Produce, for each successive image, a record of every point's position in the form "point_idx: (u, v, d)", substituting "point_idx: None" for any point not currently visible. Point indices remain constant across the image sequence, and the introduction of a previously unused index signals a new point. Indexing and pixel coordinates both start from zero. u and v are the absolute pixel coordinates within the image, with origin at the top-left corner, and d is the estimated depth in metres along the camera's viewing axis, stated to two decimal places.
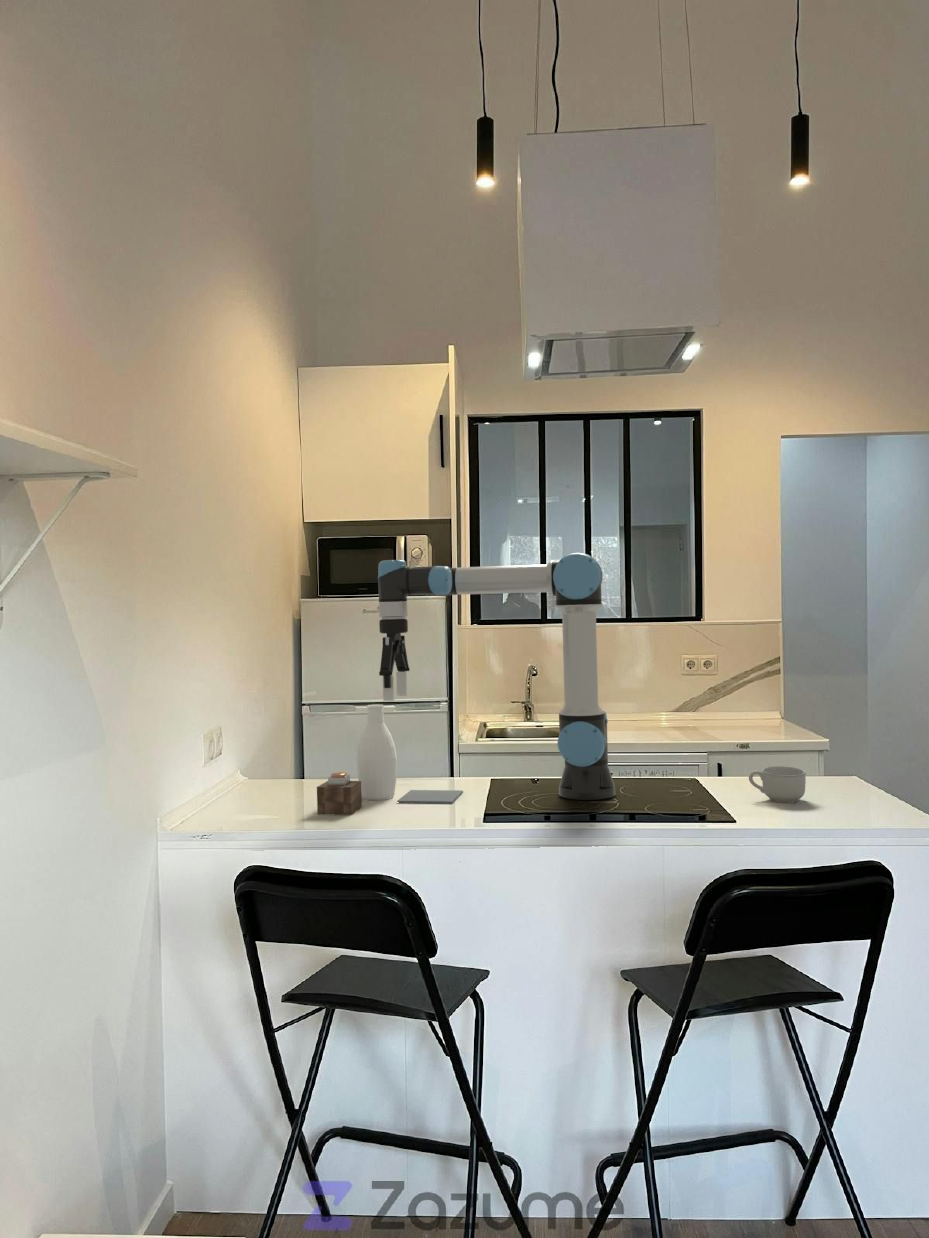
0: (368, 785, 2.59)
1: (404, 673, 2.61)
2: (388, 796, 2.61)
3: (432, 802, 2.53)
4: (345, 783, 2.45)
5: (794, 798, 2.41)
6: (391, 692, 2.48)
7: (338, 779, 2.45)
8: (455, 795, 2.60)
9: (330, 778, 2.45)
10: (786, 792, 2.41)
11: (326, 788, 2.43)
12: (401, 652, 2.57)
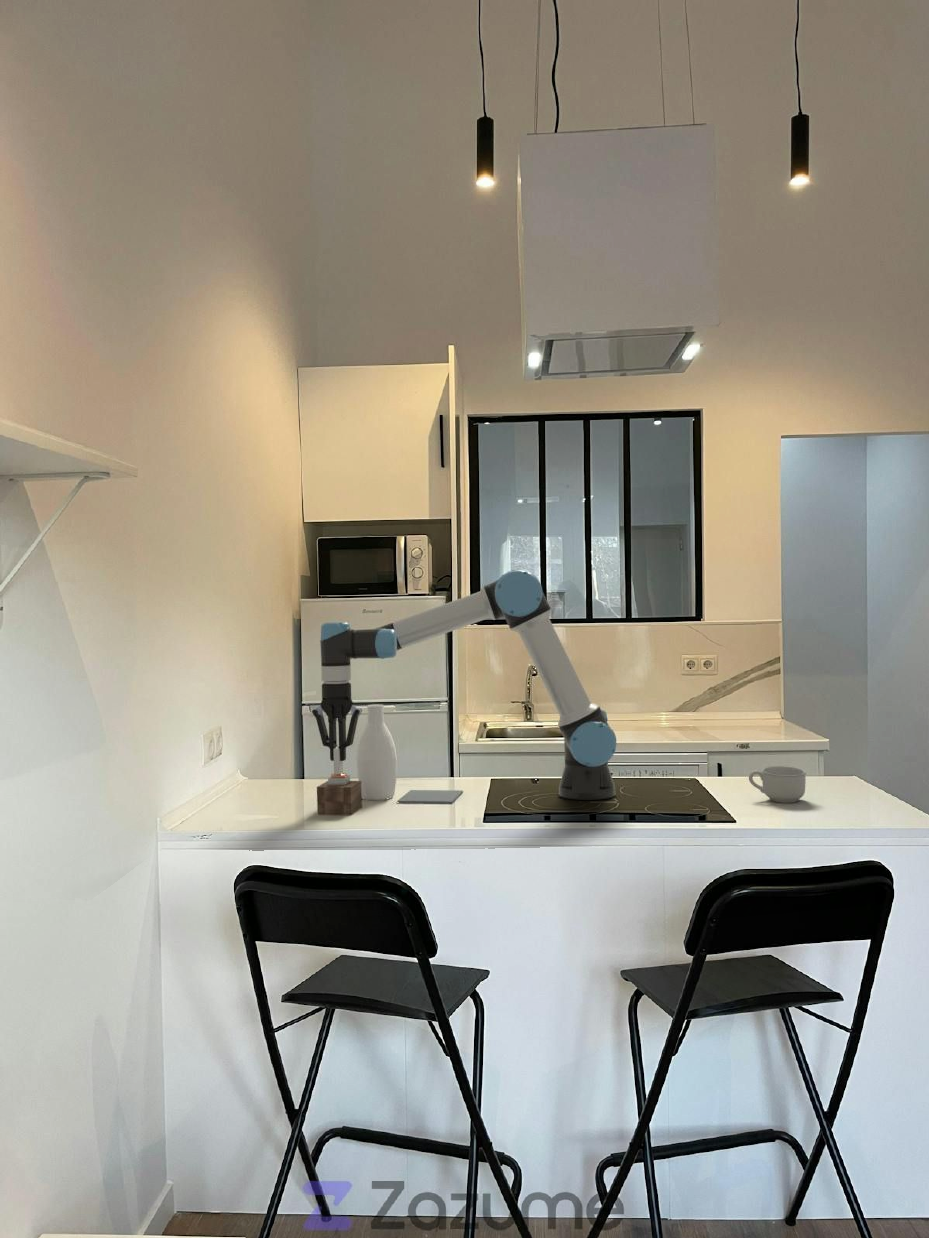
0: (368, 785, 2.59)
1: None
2: (388, 796, 2.61)
3: (432, 802, 2.53)
4: (345, 783, 2.45)
5: (794, 798, 2.41)
6: None
7: (338, 779, 2.45)
8: (455, 795, 2.60)
9: (330, 778, 2.45)
10: (786, 792, 2.41)
11: (326, 788, 2.43)
12: None
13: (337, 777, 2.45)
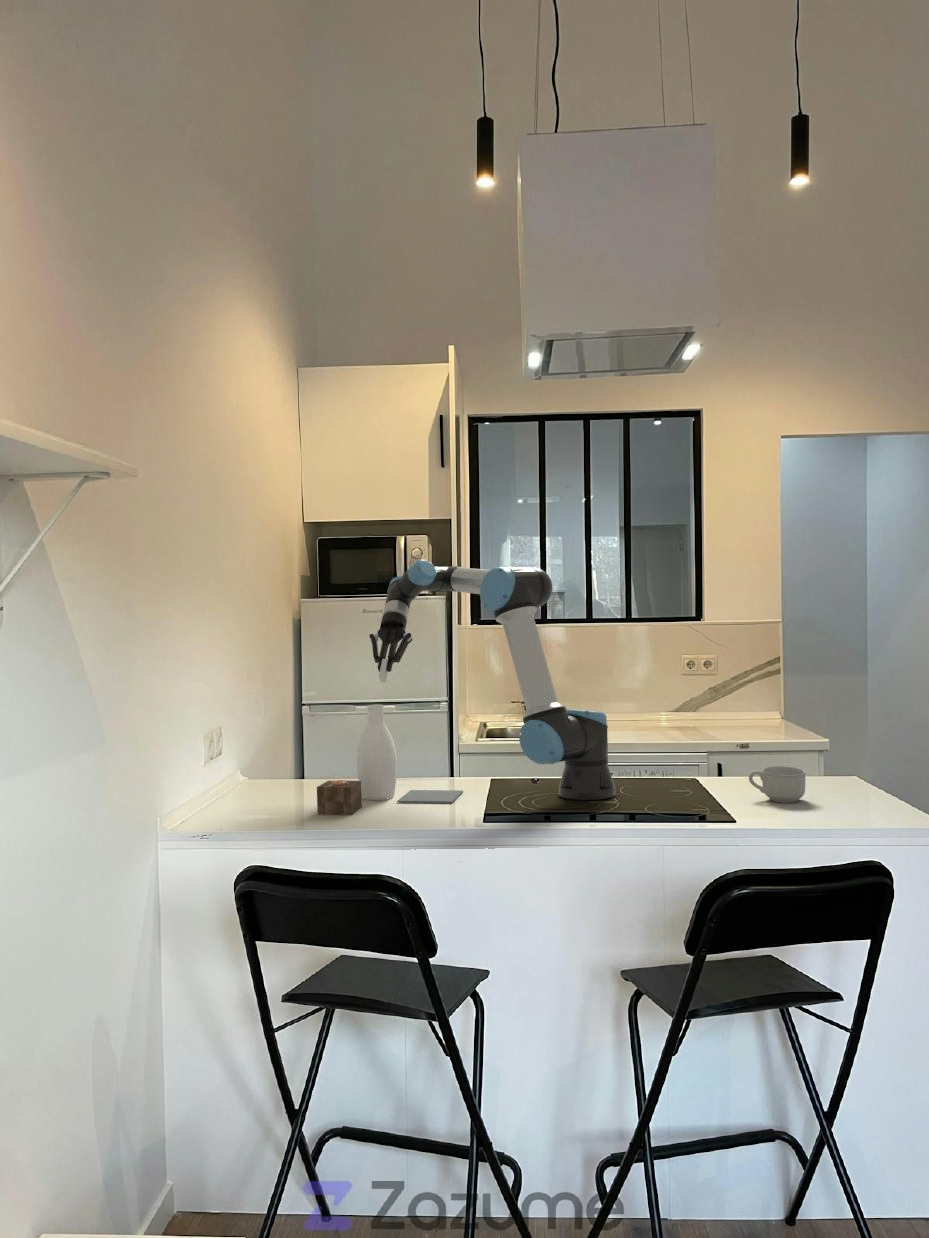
0: (368, 785, 2.59)
1: None
2: (388, 796, 2.61)
3: (432, 802, 2.53)
4: None
5: (794, 798, 2.41)
6: None
7: None
8: (455, 795, 2.60)
9: None
10: (786, 792, 2.41)
11: (326, 788, 2.43)
12: None
13: (337, 784, 2.45)
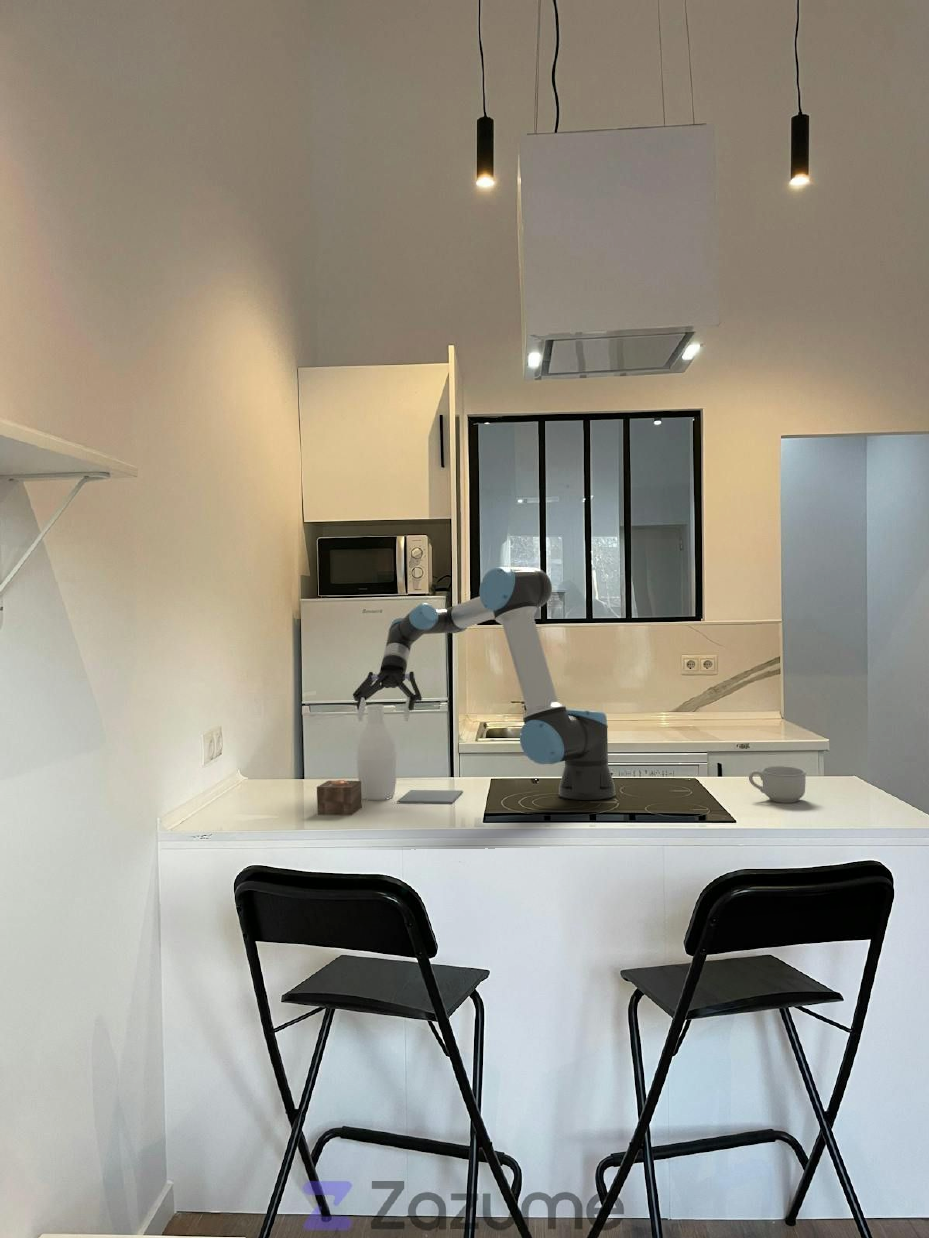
0: (368, 785, 2.59)
1: None
2: (388, 796, 2.61)
3: (432, 802, 2.53)
4: None
5: (794, 798, 2.41)
6: (359, 710, 2.75)
7: None
8: (455, 795, 2.60)
9: None
10: (786, 792, 2.41)
11: (326, 788, 2.43)
12: (398, 683, 2.79)
13: (337, 784, 2.45)
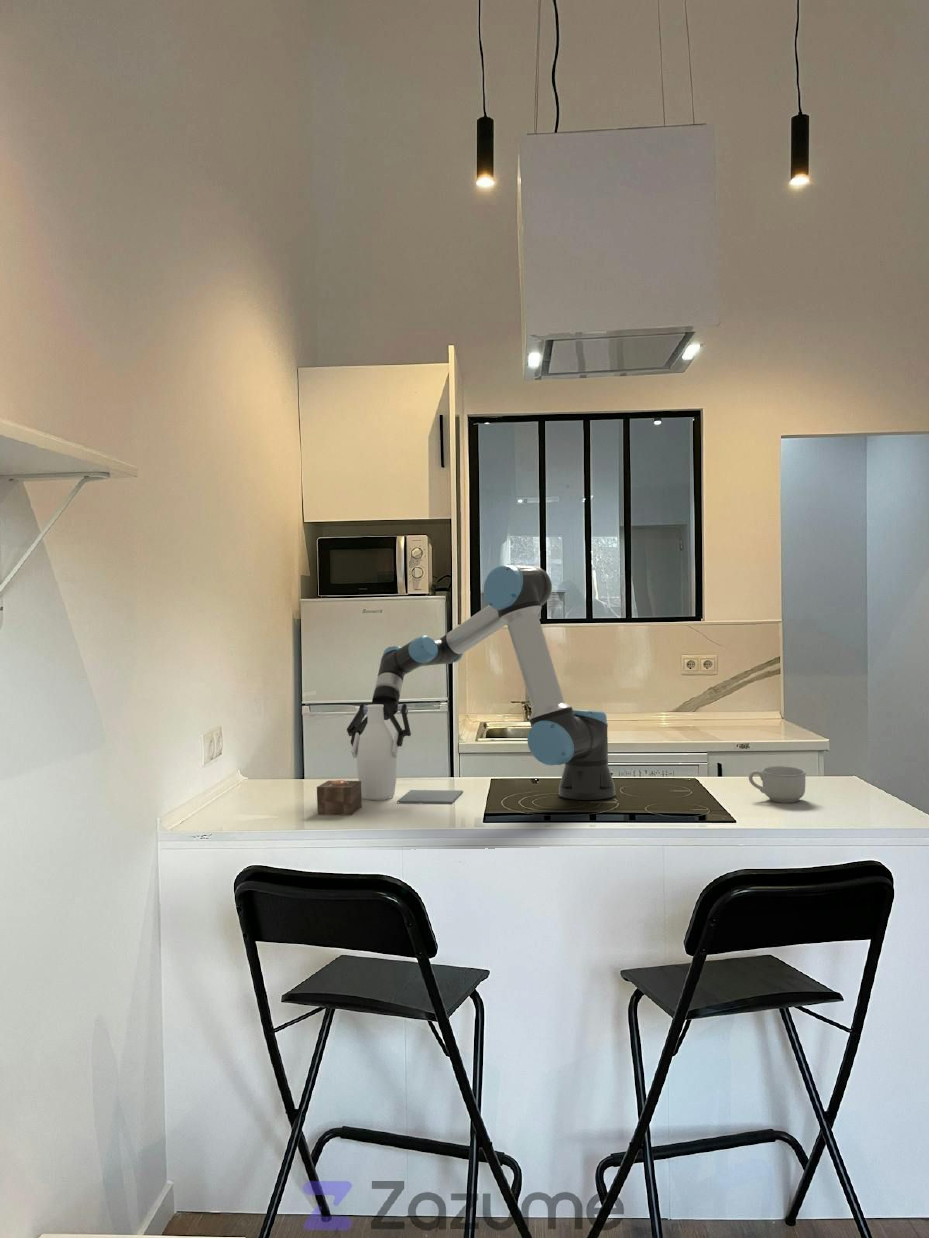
0: (368, 785, 2.59)
1: None
2: (388, 796, 2.61)
3: (432, 802, 2.53)
4: None
5: (794, 798, 2.41)
6: (353, 746, 2.63)
7: None
8: (455, 795, 2.60)
9: None
10: (786, 792, 2.41)
11: (326, 788, 2.43)
12: (389, 715, 2.68)
13: (337, 784, 2.45)
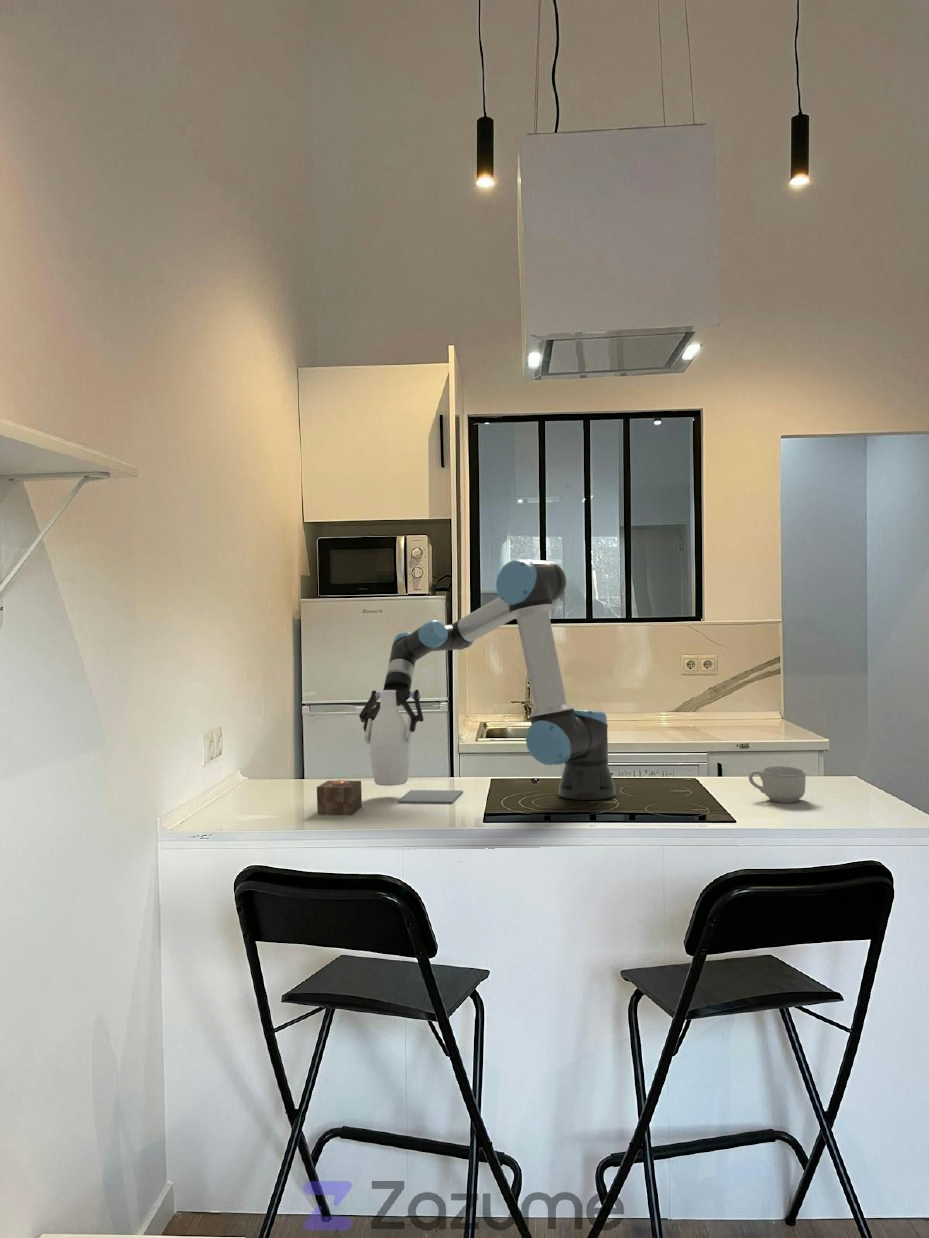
0: (382, 771, 2.59)
1: None
2: (401, 781, 2.60)
3: (432, 802, 2.53)
4: None
5: (794, 798, 2.41)
6: (366, 732, 2.62)
7: None
8: (455, 795, 2.60)
9: None
10: (786, 792, 2.41)
11: (326, 788, 2.43)
12: (401, 701, 2.68)
13: (337, 784, 2.45)
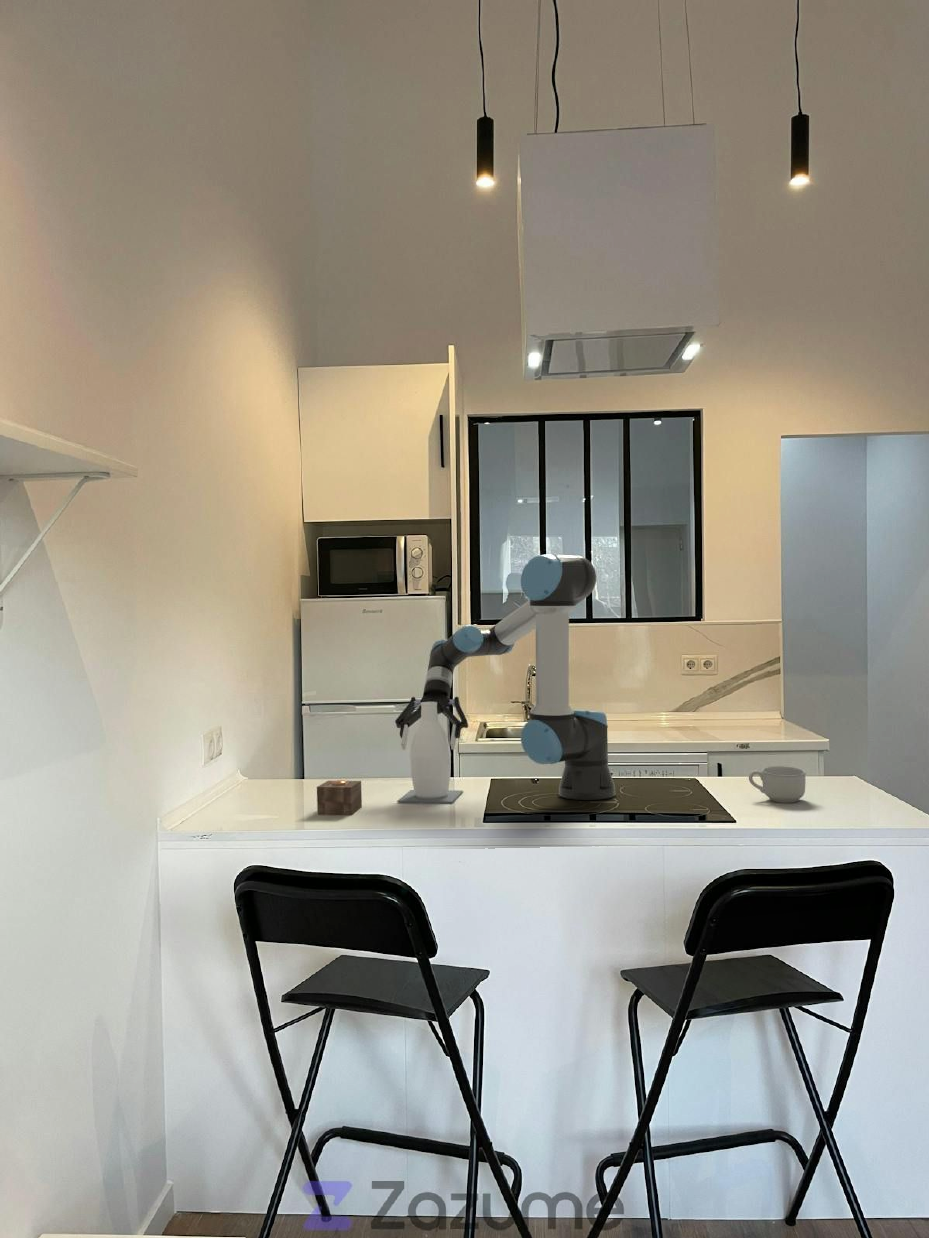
0: (422, 783, 2.56)
1: None
2: (442, 794, 2.58)
3: (432, 802, 2.53)
4: None
5: (794, 798, 2.41)
6: None
7: None
8: (455, 795, 2.60)
9: None
10: (786, 792, 2.41)
11: (326, 788, 2.43)
12: (443, 709, 2.66)
13: (337, 784, 2.45)
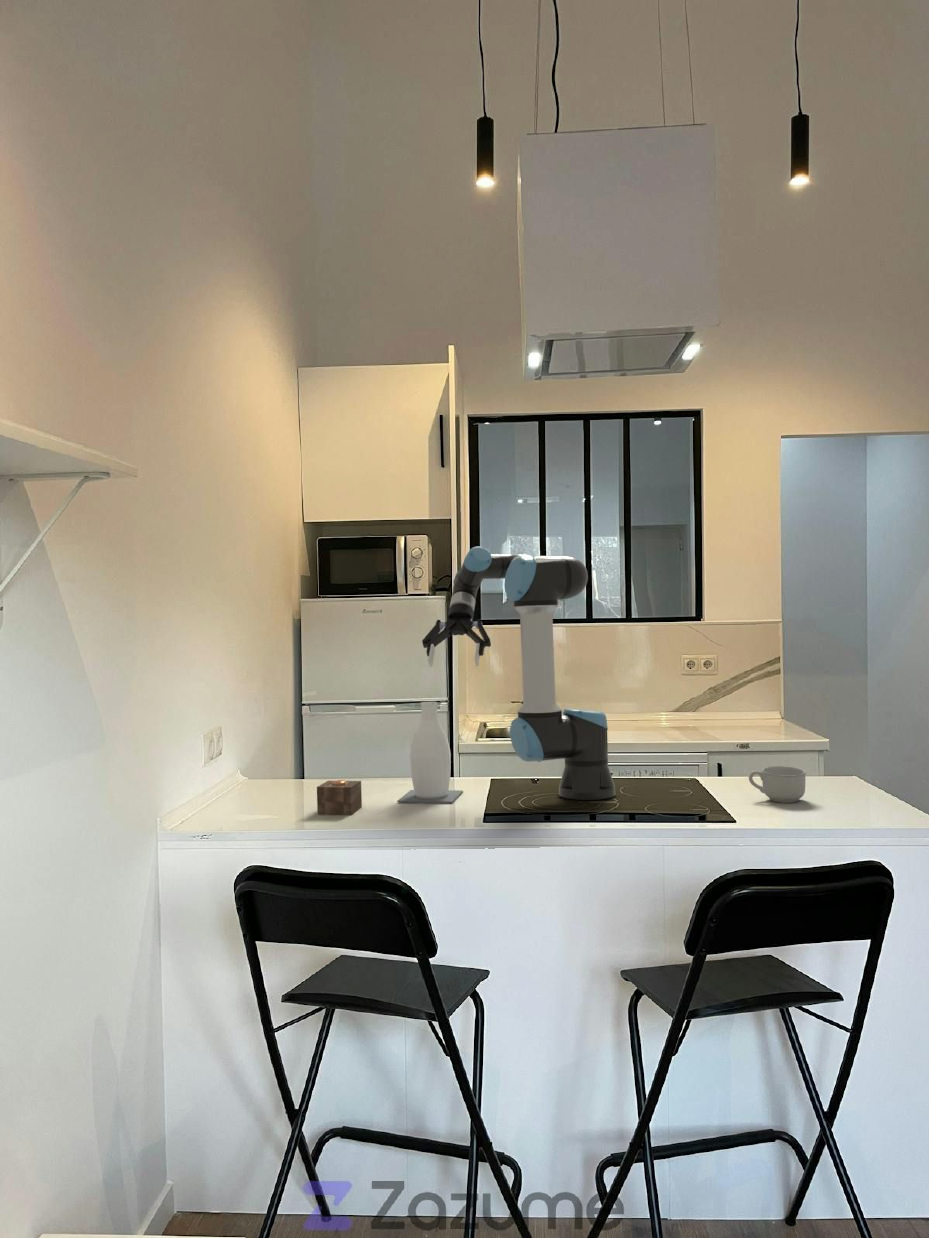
0: (422, 783, 2.56)
1: None
2: (442, 794, 2.58)
3: (432, 802, 2.53)
4: None
5: (794, 798, 2.41)
6: (429, 656, 2.78)
7: None
8: (455, 795, 2.60)
9: None
10: (786, 792, 2.41)
11: (326, 788, 2.43)
12: (467, 629, 2.82)
13: (337, 784, 2.45)
